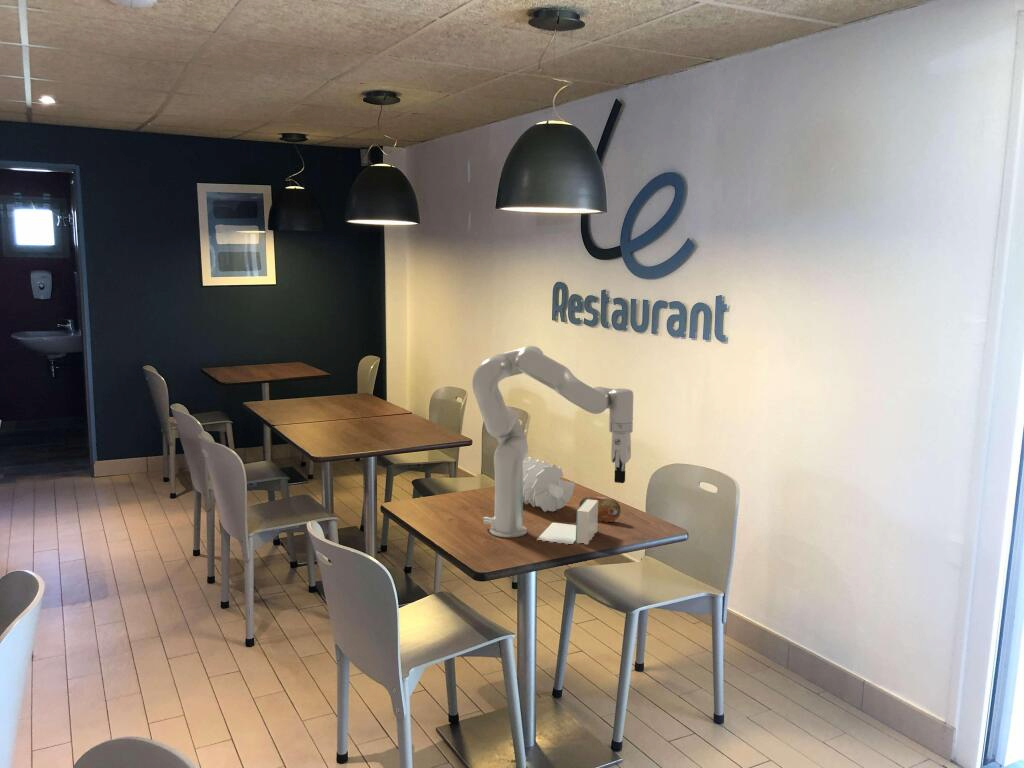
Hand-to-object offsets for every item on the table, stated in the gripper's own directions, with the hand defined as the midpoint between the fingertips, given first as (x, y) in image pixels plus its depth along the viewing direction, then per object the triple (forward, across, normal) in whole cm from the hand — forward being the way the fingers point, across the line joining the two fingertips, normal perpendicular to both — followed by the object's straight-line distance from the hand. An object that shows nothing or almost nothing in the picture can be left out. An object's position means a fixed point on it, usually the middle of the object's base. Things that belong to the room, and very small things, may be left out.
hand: (619, 482), depth 264 cm
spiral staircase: (+20, +28, +37) cm, 50 cm away
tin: (+20, +20, +11) cm, 30 cm away
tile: (+20, 0, +11) cm, 23 cm away
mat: (+20, 0, +19) cm, 28 cm away
